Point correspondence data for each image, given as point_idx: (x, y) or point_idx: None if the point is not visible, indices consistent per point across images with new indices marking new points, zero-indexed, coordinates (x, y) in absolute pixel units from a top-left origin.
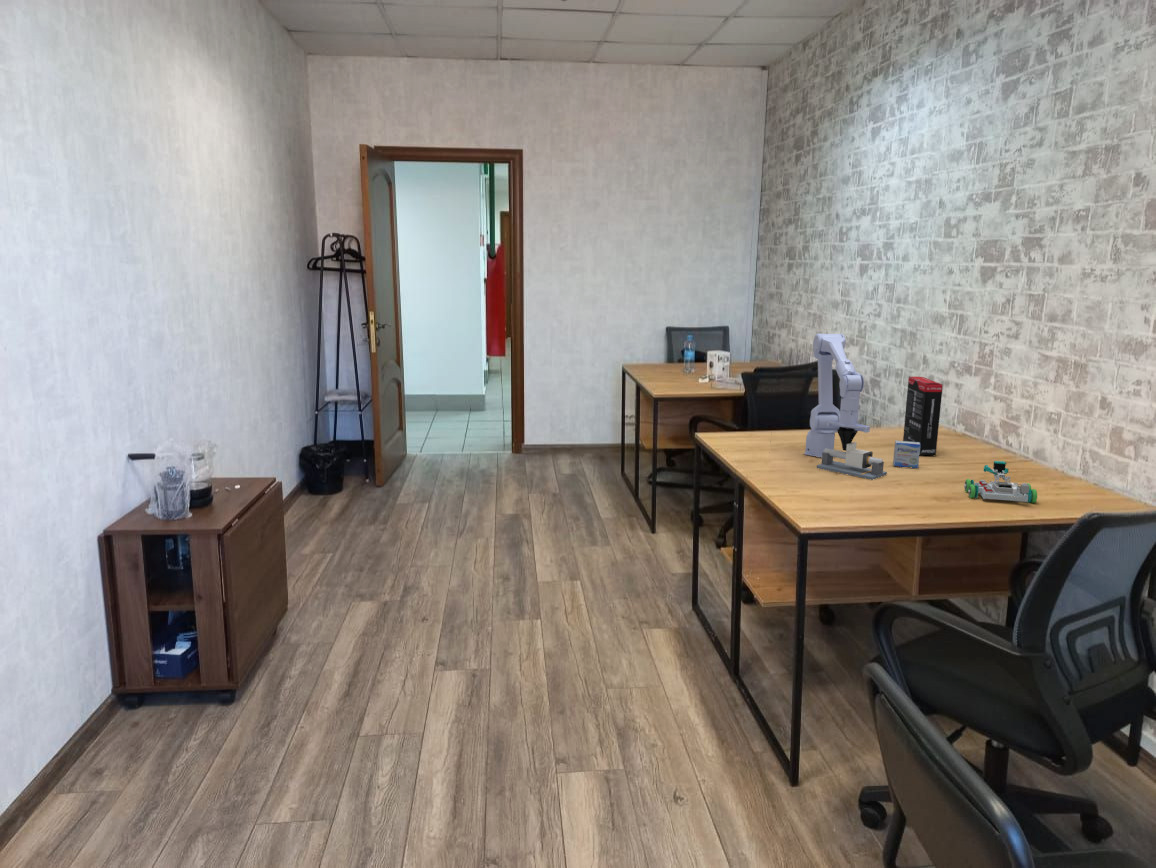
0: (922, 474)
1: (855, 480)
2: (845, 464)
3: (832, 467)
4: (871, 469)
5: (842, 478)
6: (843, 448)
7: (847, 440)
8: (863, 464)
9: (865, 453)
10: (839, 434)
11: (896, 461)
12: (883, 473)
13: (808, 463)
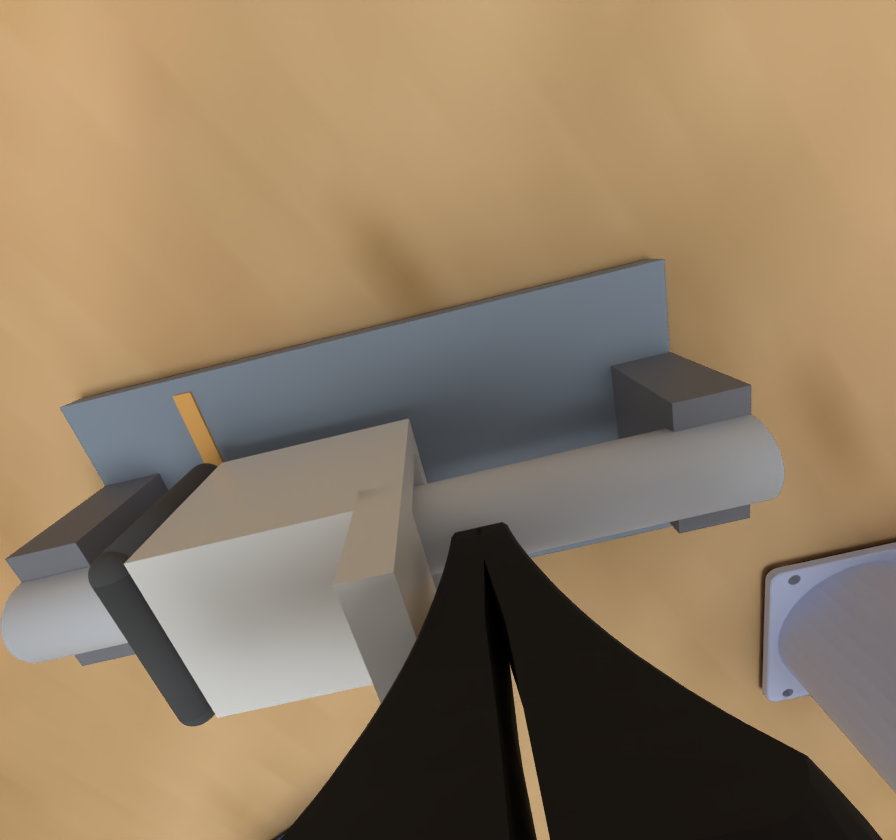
0: (141, 790)
1: (114, 240)
2: (403, 420)
3: (513, 340)
4: None
5: (224, 174)
6: (491, 535)
7: (416, 658)
8: (181, 482)
9: (93, 585)
10: (670, 706)
11: None
12: None
13: (804, 332)
